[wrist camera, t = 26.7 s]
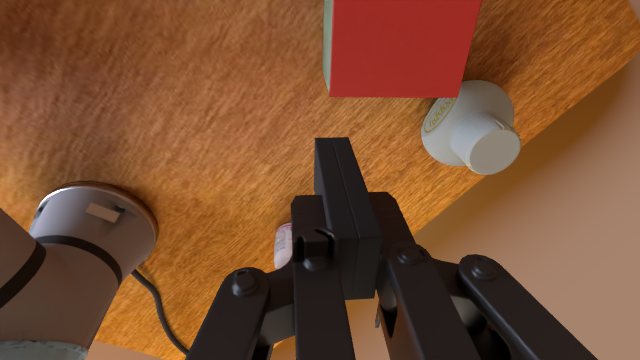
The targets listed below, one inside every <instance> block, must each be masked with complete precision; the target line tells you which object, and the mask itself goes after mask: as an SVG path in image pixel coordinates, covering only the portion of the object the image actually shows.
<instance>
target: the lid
mask: <svg viewBox="0 0 640 360" xmlns="http://www.w3.org/2000/svg"><path fill="white" fill-rule="evenodd" d="M481 3H482V0H333V13H332V38H331V63H330V88H329V95H330V97H403V98H458V94H459V90H460V86H461V82H462V78H463V74H464V70H465V66H466V62H467V58H468V54H469V50H470V46H471V42H472V38H473V34H474V30H475V26H476V22H477V18H478V14H479V11H480V7H481Z"/></svg>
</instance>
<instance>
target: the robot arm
mask: <svg viewBox="0 0 640 360" xmlns="http://www.w3.org/2000/svg"><path fill="white" fill-rule="evenodd" d="M314 191H315V195H301V196H295V198H294V200H293V201H292V203H291V228H292V256H291V258H290V260H289V261H288V262H287V264H286V265H284V266H283V267H281V268H280V269H277V270H275V271H272V272H269V273H264V272H263V271H262V270H260V269H257V268H254V267H244V268H241V269H238V270H235V271H233V272H232V273H230V274H229V275H228V276H227V277H226V278H225V279H224V281H223V282H222V284H221V286H220V288H219V290H218V292H217V294H216V297H215V299H214V301H213V303H212V305H211V307H210V309H209V311H208V313H207V315H206V317H205V319H204V321H203V323H202V325H201V327H200V329H199V332H198V334H197V336H196V338H195V340H194V342H193V344H192V346H191V348H190V350H187V349H186V348H185V347H184V346H183V345H182V344H181V343H180V342H179V341H178V340H177V339H176V338H175V337H174V335H173V334H172V332H171V330H170V329H169V326H168V324H167V322H166V319H165V317H164V314H163V310H162V303H161V299H160V296H159V294H158V292H157V290H156V288H155V287H154V286H153V285H152V284H151V283H150V282H149V281H148V280H146V279H145V278H144V277H143V276H142V275H141V274H140V273H139V272H138V271H137V270H136V269H135V268H136V267H137V266H139V265H140V264H141V263H143V262H144V261H145V260H146V259H147V258H148V257H149V255H150V254H151V252H152V250H153V248H154V246H155V244H156V242H157V239H158V226H157V222H156V220H155V218H154V216H153V214H152V213H151V211H150V210H149V209H148V207H147V206H146V205H145V204H144V203H143V202H141V201H140V200H139V199H138V198H136V197H135V196H133V195H132V194H130V193H128V192H127V191H125V190H123V189H120V188H118V187H115V186H112V185H109V184H105V183H100V182H93V181H78V182H72V183H67V184H65V185H62V186H60V187H58V188H56V189H55V190H53V191H52V192H51V193H50V194H49V195H48V196H47V197H46V198H45V199H44V200H43V201H42V202H41V203H40V205H39V206H38V209H37V211H36V213H35V216H34V220H33V222H32V225H31V228H30V231H29V233H28V232H27V231H25V230H24V229H23V228H22V227H21V226H20V225H19V224H18V223H16V222H15V221H14V220H13V219H12V218H11V217H10V216H9V215H8V214H6V213H5V212H4V211H3V210H2V209H1V208H0V360H84V359H85V358H86V356H87V354H88V349H89V348H90V346H91V344H92V341H93V340H94V338H95V335H96V333H97V331H98V329H99V327H100V325H101V323H102V321H103V319H104V317H105V315H106V313H107V311H108V309H109V307H110V305H111V303H112V301H113V299H114V297H115V295H116V292H117V290H118V289H119V287H120V285H121V283H122V281H123V280H124V279H125V278H126V277H127V276H128V275H129V274H130V273H131V274H132V275H133V276H134V277H135V278H136V279H137V280H138V281H139V282H140V283H141V284H143V285H144V286H145V287H146V288H148V289H149V290H150V292H151V293H152V295H153V296H154V299H155V302H156V308H157V313H158V316H159V319H160V321H161V324H162V326H163V328H164V330H165V332H166V334H167V336H168V337H169V339H170V340H171V341H172V343H173V344H174V345H175V346H176V347H177V348H178V349H179V350H180V351H181V352H183V353H184V354H185V355H187V356H186V358H185V360H270V358H271V354H272V350H273V347H274V343H277V342H279V341H282V340H284V339H287V338H289V337H291V336H294V335H295V345H296V360H356V359H355V353H354V348H353V342H352V337H351V332H350V326H349V321H348V316H347V310H346V305H345V300H353V299H370V298H374V296H375V290H377V293H378V297H379V303H378V309H377V315H376V320H375V327H376V328H377V327H379V324H380V322H381V326H382V329H383V333H384V337H385V341H386V344H387V349H388V352H389V356H390V360H598V359H597V358H596V357H595V356H594V355H593V354H591V352H590V351H588V350H587V349H586V348H585V347H584V346H583V345H582V344H581V343H580V342H579V341H578V340H577V339H576V338H575V337H574V336H573V335H572V334H571V333H570V332H569V331H568V330H567V329H566V328H565V327H564V326H563V325H562V324H561V323H560V322H559V321H558V320H557V319H556V318H554V316H553V315H551V314H550V313H549V312H548V311H547V310H546V309H545V308H544V307H543V306H542V305H541V304H540V303H539V302H538V301H537V300H536V299H535V298H534V297H533V296H532V295H531V294H530V293H529V292H528V291H527V290H526V289H525V288H524V287H523V286H522V285H521V284H520V283H519V282H518V281H517V280H515V278H513V277H512V276H511V275H510V274H509V273H508V272H507V271H506V270H505V269H504V268H503V267H502V266H501V265H500V264H498V263H497V262H496V261H494V260H493V259H490V258H488V257H486V256H482V255H477V254H474V255H467V256H465V257H463V258H462V259H461V261H460V263H459V264H455V263H450V262H445V261H440V260H437V259H434V258H432V257H431V256H430V254H429V253H428V252H427V250H426V249H424V248H423V247H421V246H420V245H418V244H416V243H415V240H414V238H413V236H412V234H411V232H410V230H409V227H408V225H407V223H406V221H405V219H404V217H403V214H402V212H401V210H400V208H399V206H398V204H397V201H396V199H395V198H393V197H392V196H391V195H390V194H389V193H388V192H368V191H367V188H366V185H365V182H364V180H363V177H362V174H361V171H360V168H359V166H358V163H357V160H356V157H355V155H354V152H353V149H352V146H351V144H350V141H349V138H348V137H339V138H315V168H314Z"/></svg>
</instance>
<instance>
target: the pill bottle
mask: <svg viewBox="0 0 640 360" xmlns="http://www.w3.org/2000/svg"><path fill="white" fill-rule="evenodd" d="M291 256H292V228H291V223H287V224H284V225H282V226H280V227H279V228H278V229H277V231H276V234H275V251H274V265H275V268H276V270H277V269H280V268H281V267H283V266H284V265H286V264H287V262H288V261H289V260H290V258H291Z"/></svg>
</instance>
